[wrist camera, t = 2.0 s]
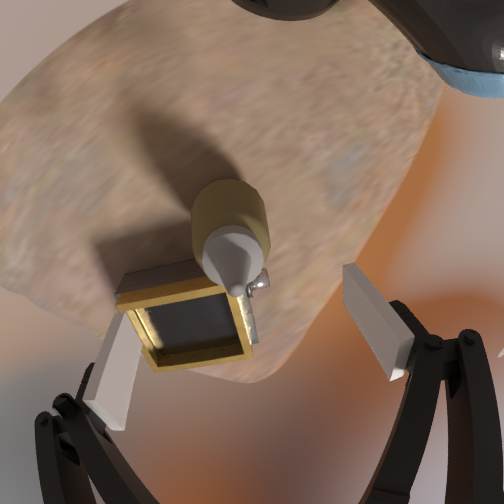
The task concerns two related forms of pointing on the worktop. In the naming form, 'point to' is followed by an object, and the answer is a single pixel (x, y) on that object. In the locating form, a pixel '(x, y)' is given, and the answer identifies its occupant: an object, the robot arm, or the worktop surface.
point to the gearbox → (188, 316)
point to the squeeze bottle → (230, 234)
